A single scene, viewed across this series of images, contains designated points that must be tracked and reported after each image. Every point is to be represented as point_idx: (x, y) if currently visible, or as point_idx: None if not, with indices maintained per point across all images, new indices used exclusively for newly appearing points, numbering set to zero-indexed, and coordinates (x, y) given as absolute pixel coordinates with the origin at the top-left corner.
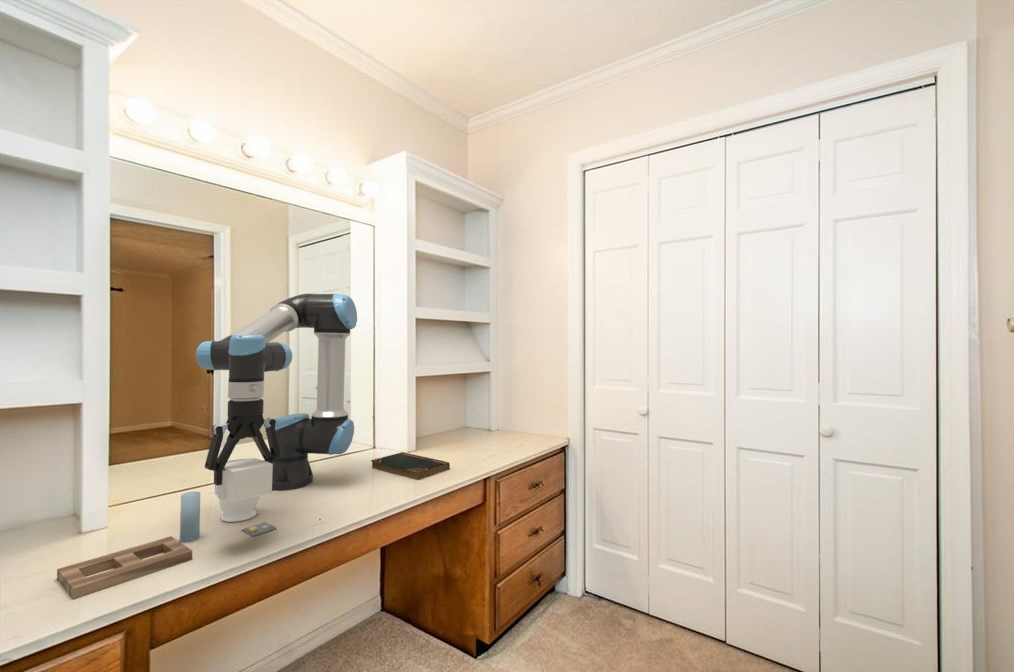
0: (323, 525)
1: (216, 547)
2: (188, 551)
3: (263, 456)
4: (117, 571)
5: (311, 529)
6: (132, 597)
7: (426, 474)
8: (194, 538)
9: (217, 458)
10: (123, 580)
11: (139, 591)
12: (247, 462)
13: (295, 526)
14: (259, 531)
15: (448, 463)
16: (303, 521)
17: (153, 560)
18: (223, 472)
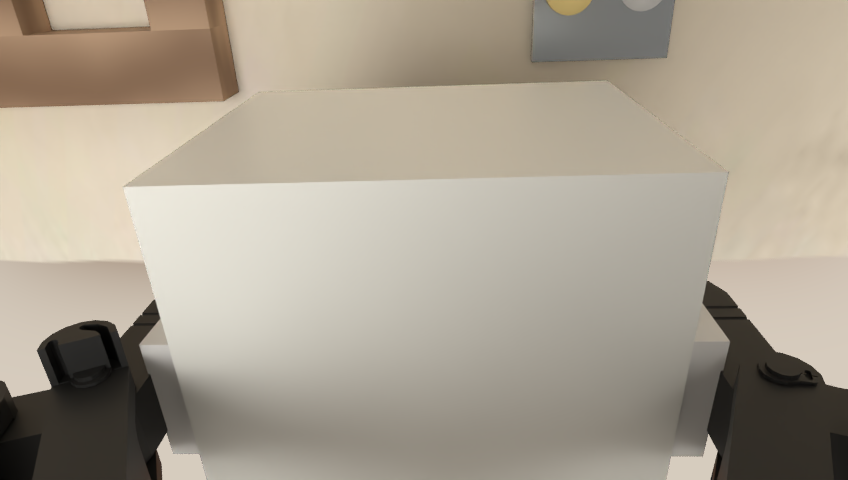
0: (824, 197)
1: (355, 42)
2: (207, 99)
3: (732, 415)
4: None
5: (754, 196)
6: (35, 241)
7: None
8: None
9: (36, 461)
10: None
11: (53, 216)
12: (500, 360)
13: (744, 97)
14: (580, 33)
15: None
16: (821, 63)
17: (69, 77)
18: (178, 444)
